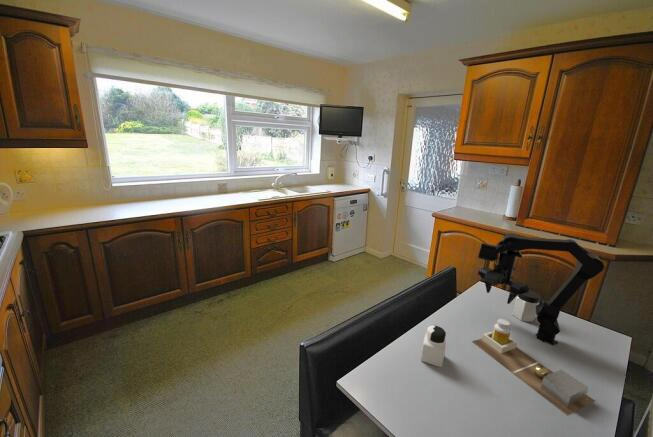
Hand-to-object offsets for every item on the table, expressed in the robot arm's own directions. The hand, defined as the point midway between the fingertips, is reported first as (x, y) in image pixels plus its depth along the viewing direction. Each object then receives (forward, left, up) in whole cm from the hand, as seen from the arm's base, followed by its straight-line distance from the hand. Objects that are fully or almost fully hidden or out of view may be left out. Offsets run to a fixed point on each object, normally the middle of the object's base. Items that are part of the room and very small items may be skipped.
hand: (497, 298), depth 122 cm
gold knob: (+12, +27, -11) cm, 32 cm away
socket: (+11, +11, -11) cm, 19 cm away
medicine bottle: (+40, +7, -13) cm, 43 cm away
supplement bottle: (+11, +11, -12) cm, 20 cm away
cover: (+13, +34, -11) cm, 38 cm away
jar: (-19, +1, -13) cm, 23 cm away
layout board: (+13, +23, -12) cm, 29 cm away
